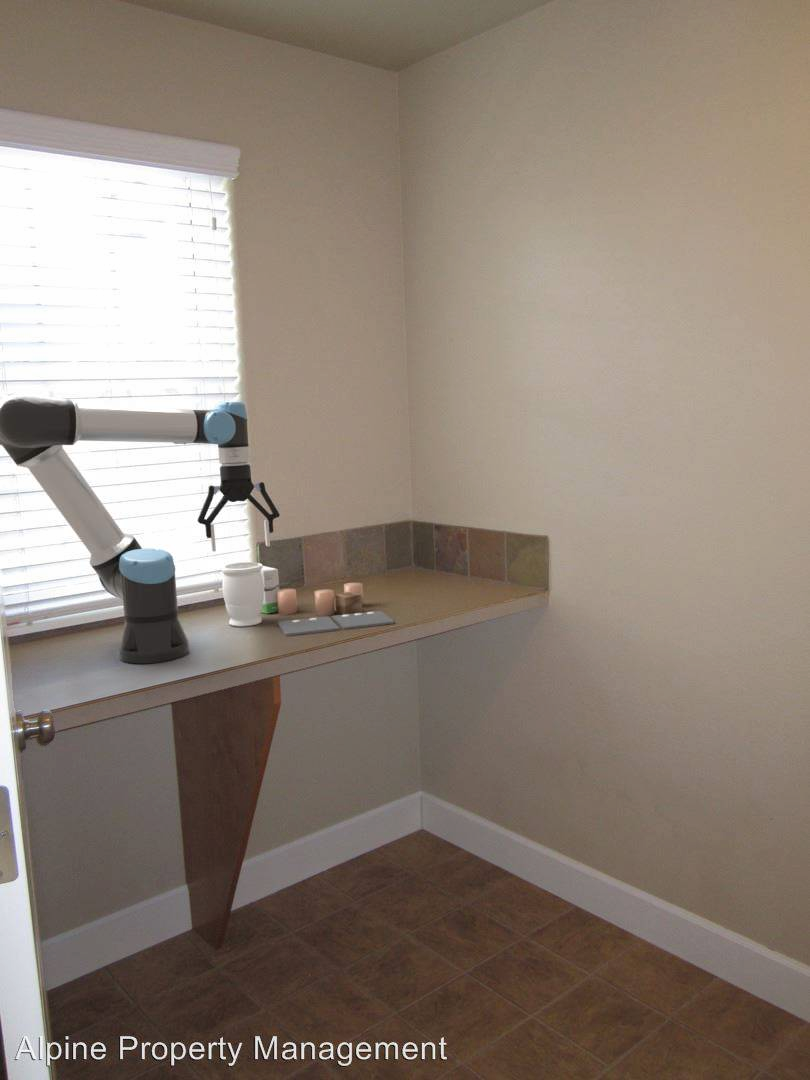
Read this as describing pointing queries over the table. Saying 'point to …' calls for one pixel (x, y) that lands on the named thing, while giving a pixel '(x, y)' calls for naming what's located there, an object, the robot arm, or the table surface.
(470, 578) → the table surface
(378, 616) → the pad three
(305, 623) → the pad two
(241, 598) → the jar
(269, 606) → the ink box
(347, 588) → the pink rounded piece
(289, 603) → the tan rounded block
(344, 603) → the walnut block
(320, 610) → the pink rounded piece
